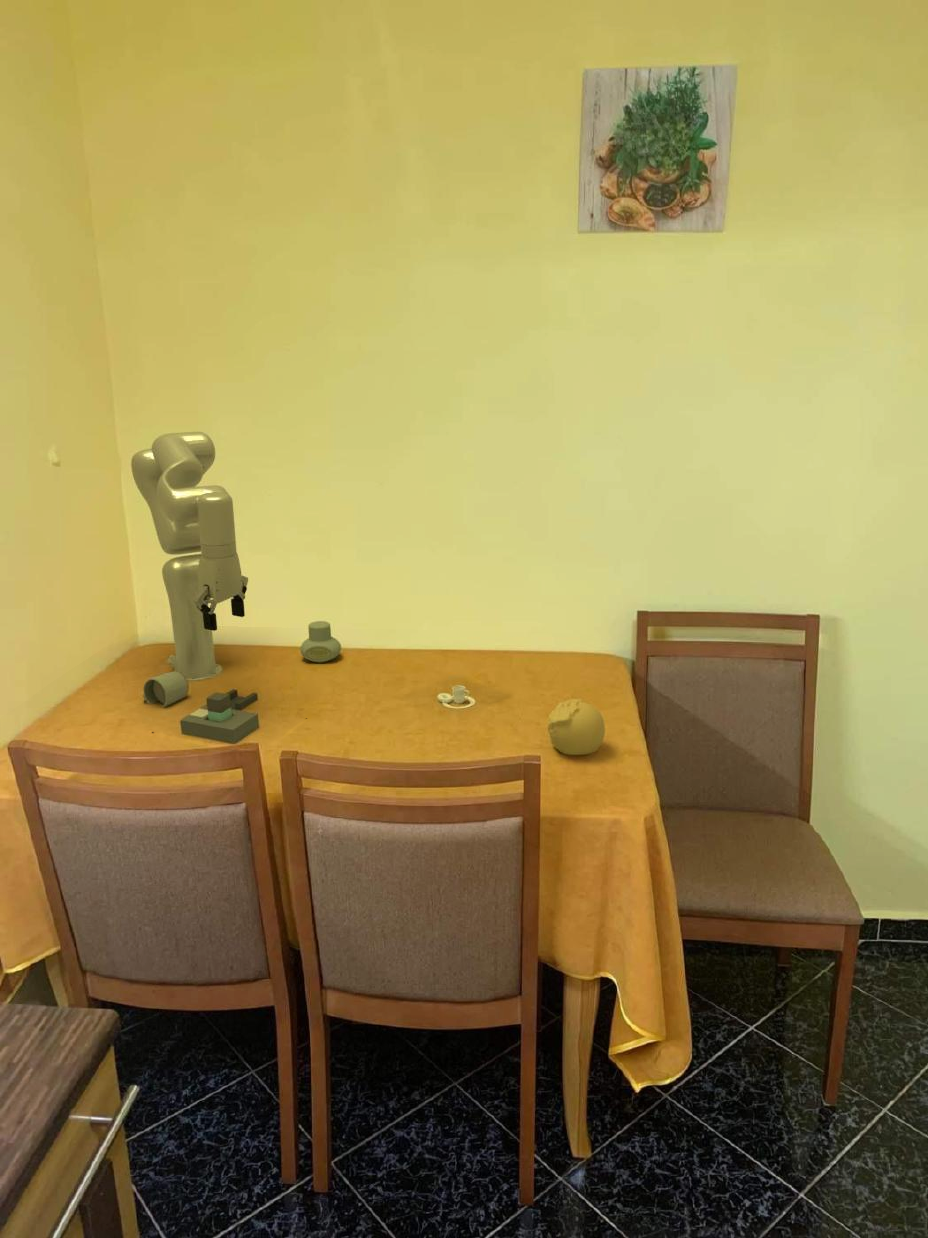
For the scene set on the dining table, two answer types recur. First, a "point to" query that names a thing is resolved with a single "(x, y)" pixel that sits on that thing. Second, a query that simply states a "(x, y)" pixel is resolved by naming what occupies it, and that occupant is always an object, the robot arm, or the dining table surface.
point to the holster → (241, 700)
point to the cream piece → (456, 697)
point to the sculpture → (576, 727)
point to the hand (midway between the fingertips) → (224, 622)
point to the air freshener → (320, 643)
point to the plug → (219, 707)
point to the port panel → (220, 725)
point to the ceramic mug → (165, 688)
